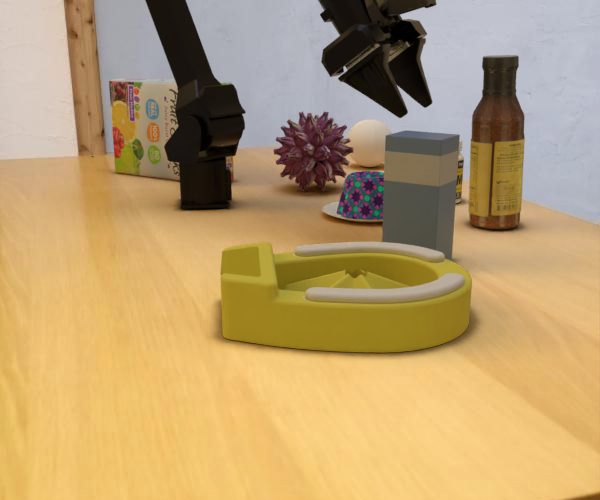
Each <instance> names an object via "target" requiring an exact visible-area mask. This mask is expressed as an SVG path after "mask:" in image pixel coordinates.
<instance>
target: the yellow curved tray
mask: <svg viewBox="0 0 600 500" xmlns="http://www.w3.org/2000/svg"><path fill="white" fill-rule="evenodd" d="M220 260H221V261H220V299H221V300H220V302H221V303H220V304H221V325H222V327H221V328H222V330H221V331H222V337H223V338H225V339H226V340H232V341H236V342H237V341H238V342H244V343H252V344H257V345H264V346H273V347H279V348H288V349H289V348H290V349H299V350H309V351H324V352H325V351H326V352H339V353H340V352H341V353H343V352H344V353H383V354H384V353H402V352H410V351H419V350H425V349H429V348H433V347H437V346H439V345H444V344H446V343H448V342H451V341H453V340H455V339H456V338H457V339H458V337H460V336H461V335H463V333H464V332H466V331H467V329H468V328H469V324H470V317H471V315H470V314H471V303H472V302H471V301H472V300H471V299H472V287H473V278H472V277H471V275H470V273H469V271H468V270H467V269H466V268H464V267H463V266H461V265H460V264H458V263H456V262H454V261H453V260H452V261H450V260H447V259H445V255H444V254H443V253H442V252H439V251H436V250H432V249H428V248H424V247H419V246H414V245H407V244H399V243H388V242H382V241H345V242H329V243H328V242H327V243H315V244H305V245H304V244H303V245H297V246H296V247H295V248H294V251H288V252H278V253H274V251H273V245H272V243H271V242H269V241H261V242H254V243H247V244H240V245H232V246H227V247H225V248H224V249H223V250H222V251H221V259H220Z"/></svg>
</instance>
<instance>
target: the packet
mask: <svg viewBox="0 0 600 500" xmlns="http://www.w3.org/2000/svg"><path fill="white" fill-rule="evenodd" d="M460 137H461V136H460V134H459V133H443V132H431V131H418V130H407V129H406V130H402V131H398V132H394V133H392V134H389V135H386V139H385V162H383V163H384V164H383V166H384V167H383V173H384V200H383V222H382V231H381V232H382V235H381V242H388V243H399V244H407V245H414V246H419V247H424V248H428V249H432V250H436V251H439V252H442V253H443V254H444V255H445V259H447V260H450V261H452V262H453V248H454V247H453V246H454V231H455V216H456V215H455V214H456V203H455V201H456V185H457V173H458V158H459V139H461V138H460Z"/></svg>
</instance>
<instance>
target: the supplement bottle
mask: <svg viewBox="0 0 600 500" xmlns="http://www.w3.org/2000/svg"><path fill="white" fill-rule="evenodd" d="M462 151H463V139H461V138H459V158H458V173H457V185H456V201H455V204H458V203H460V202H461V201H462V194H463V181H464V179H463V178H464V165H465V156H464V155H463V153H461V152H462Z"/></svg>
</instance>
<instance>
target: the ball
mask: <svg viewBox="0 0 600 500" xmlns="http://www.w3.org/2000/svg"><path fill="white" fill-rule="evenodd" d="M389 134H393V133H392V131H391V130H390V128H389V127H388V125H387V124H385V123H384V122H382V121H380V120H378V119H373V118H367V119H363V120H360V121H358V122H357V123H355V124H354V125H353V126H352V127H351V129H350V130H349V131H348V133H347V137H346V139H348V138H350V141H351V142H349V143H347V144H346V145H347V146H349V147H354V148H353V149H354V152H353V153H350V154H348V156H349V157H350V158H351V160H352V161H353V162H355V164H357V165H359V166H362V167H364V168H374V167H378V166H381V165H382V164H383V163H384V162H385V139H386V135H389Z"/></svg>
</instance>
